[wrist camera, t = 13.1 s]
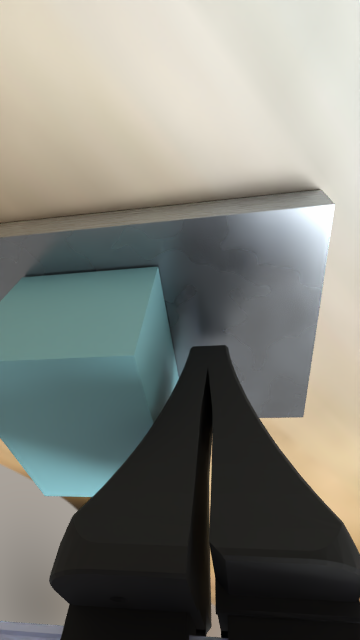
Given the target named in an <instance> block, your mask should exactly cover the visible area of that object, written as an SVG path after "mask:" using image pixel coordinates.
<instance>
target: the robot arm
mask: <svg viewBox="0 0 360 640" xmlns="http://www.w3.org/2000/svg"><path fill="white" fill-rule="evenodd" d="M212 433H213V437H212ZM211 445H212V478H211V506H210V524H209V472H210V458H211ZM210 550H211V555H212V561H213V567H214V572H215V590H216V614H217V615H218V619H219V623H220V628H221V638H218V637H206V634H207V632H208V631H209V630H210V628H211V585H210ZM49 581H50V584H51V586H52V588H53V589H54V590H55V591H56V592H57V593H58V594H59V595H60V596H61V597H63V598H64V599H65V600H66V601H67V602H68V603H69V604H70V605H69V609H68V613H67V616H66V620H65V625H64V626H59V625H46V624H32V623H18V622H6V621H0V640H360V602H359V598H360V554H359V552H358V550H357V548H356V546H355V544H354V542H353V540H352V538H351V536H350V534H349V532H348V531H347V529H346V527H345V525H344V523H343V522H342V521H341V520H340V519H339V518H338V517H337V516H336V514H335V513H334V512H333V511H332V510H331V509H330V508H329V507H328V506H327V505H326V504H325V503H324V502H323V501H322V499H321V498H320V497H319V496H318V495H317V494H316V493H315V492H314V491H313V489H312V488H311V487H310V486H309V485H308V484H307V482H306V481H305V480H304V479H303V478H302V477H301V475H300V474H299V473H298V472H297V470H296V469H295V468H294V467H293V465H292V464H291V463H290V461H289V460H288V459H287V458H286V456H285V455H284V454H283V453H282V451H281V450H280V449H279V447H278V446H277V444H276V443H275V442H274V440H273V439H272V437H271V436H270V434H269V433H268V431H267V430H266V428H265V427H264V425H263V424H262V422H261V421H260V419H259V417H258V416H257V414H256V412H255V410H254V409H253V407H252V405H251V403H250V402H249V400H248V398H247V396H246V394H245V392H244V390H243V388H242V386H241V384H240V381H239V379H238V377H237V375H236V372H235V370H234V367H233V364H232V361H231V358H230V354H229V349H228V347H227V346H226V345H213V346H193V347H192V348H191V349H190V352H189V355H188V358H187V361H186V363H185V366H184V368H183V371H182V373H181V375H180V377H179V379H178V381H177V383H176V385H175V388H174V390H173V392H172V393H171V395H170V397H169V399H168V401H167V402H166V404H165V406H164V408H163V409H162V411H161V413H160V414H159V416H158V417H157V419H156V421H155V422H154V424H153V425H152V427H151V428H150V429H149V431H148V432H147V434H146V435H145V437H144V438H143V439H142V441H141V442H140V443H139V445H138V446H137V447H136V449H135V450H134V451H133V452H132V454H131V455H130V456H129V457H128V459H127V460H126V461H125V462H124V463H123V464H122V466H121V467H120V468H119V469H118V470H117V471H116V472H115V473H114V475H113V476H112V477H111V478H110V479H109V480H108V481H107V482H106V483H105V485H104V486H103V487H102V488H101V489H100V490H99V491H98V492H97V493H96V494H95V495H94V496H93V497H92V498H91V499H90V500H89V501H88V502H87V503H85V504H84V505H83V506H82V507H81V508H80V509H79V510H78V511H77V512H76V513H75V514H74V515H73V517H72V519H71V521H70V523H69V525H68V527H67V529H66V532H65V535H64V537H63V539H62V541H61V543H60V546H59V549H58V553H57V556H56V559H55V562H54V565H53V568H52V572H51V575H50V580H49Z"/></svg>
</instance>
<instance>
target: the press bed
mask: <svg viewBox="0 0 360 640" xmlns="http://www.w3.org/2000/svg"><path fill="white" fill-rule="evenodd" d="M334 208H335V204H334V203H333V202H332V201H331V200H330V198H329V197H328V196H327V195H326V194H325V193H324V192H323V191H322V190H313V191H304V192H294V193H285V194H275V195H266V196H256V197H247V198H237V199H228V200H218V201H209V202H199V203H190V204H180V205H171V206H161V207H152V208H142V209H133V210H123V211H114V212H104V213H95V214H85V215H76V216H66V217H57V218H47V219H38V220H28V221H19V222H9V223H0V301H1V300H2V299H3V298H4V297H5V296H6V295H7V294H8V292H9V291H10V290H11V289H12V288H13V287H14V286H15V285H16V284H17V283H18V282H19V280H20V279H21V278H22V277H34V276H46V275H59V274H71V273H84V272H96V271H109V270H121V269H134V268H146V267H158V269H159V274H160V280H161V285H162V290H163V296H164V301H165V306H166V312H167V317H168V322H169V328H170V333H171V339H172V344H173V349H174V355H175V360H176V365H177V371H178V376H179V377H180V375H181V373H182V371H183V368H184V366H185V363H186V361H187V358H188V355H189V352H190V349H191V348H192V347H193V346H213V345H226V346H227V347H228V349H229V354H230V358H231V361H232V364H233V367H234V370H235V372H236V375H237V377H238V379H239V381H240V384H241V386H242V388H243V390H244V392H245V394H246V396H247V398H248V400H249V402H250V403H251V405H252V407H253V409H254V410H255V412H256V414H257V416H258V417H259V418H282V417H303V415H304V408H305V401H306V395H307V388H308V381H309V375H310V368H311V361H312V355H313V348H314V341H315V335H316V328H317V321H318V315H319V308H320V301H321V294H322V288H323V281H324V274H325V268H326V261H327V254H328V248H329V241H330V234H331V228H332V221H333V214H334Z"/></svg>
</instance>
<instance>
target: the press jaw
mask: <svg viewBox="0 0 360 640" xmlns="http://www.w3.org/2000/svg"><path fill="white" fill-rule="evenodd" d="M178 379H179V376H178V371H177V365H176V360H175V355H174V349H173V344H172V339H171V333H170V328H169V322H168V317H167V312H166V306H165V301H164V296H163V290H162V285H161V280H160V274H159V269H158V267H146V268H134V269H121V270H109V271H96V272H84V273H71V274H59V275H46V276H34V277H22V278H21V279H20V280H19V282H18V283H17V284H16V285H15V286H14V287H13V288H12V289H11V290H10V291H9V292H8V294H7V295H6V296H5V297H4V298H3V299H2V300H1V301H0V438H1V439H2V441H3V442H4V443H5V445H6V446H7V447H8V448H9V450H10V451H11V452H12V454H13V455H14V456H15V458H16V459H17V460H18V461H19V463H20V464H21V465H22V467H23V468H24V469H25V471H26V472H27V473H28V475H29V476H30V477H31V478H32V480H33V481H34V482H35V484H36V485H37V486H38V488H39V489H40V490H41V491H42V493H43V494H44V495H45V496H72V497H93V496H94V495H95V494H96V493H97V492H98V491H99V490H100V489H101V488H102V487H103V486H104V485H105V483H106V482H107V481H108V480H109V479H110V478H111V477H112V476H113V475H114V473H115V472H116V471H117V470H118V469H119V468H120V467H121V466H122V464H123V463H124V462H125V461H126V460H127V459H128V457H129V456H130V455H131V454H132V452H133V451H134V450H135V449H136V447H137V446H138V445H139V443H140V442H141V441H142V439H143V438H144V437H145V435H146V434H147V432H148V431H149V429H150V428H151V427H152V425H153V424H154V422H155V421H156V419H157V417H158V416H159V414H160V413H161V411H162V409H163V408H164V406H165V404H166V402H167V401H168V399H169V397H170V395H171V393H172V392H173V390H174V388H175V385H176V383H177V381H178Z"/></svg>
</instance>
